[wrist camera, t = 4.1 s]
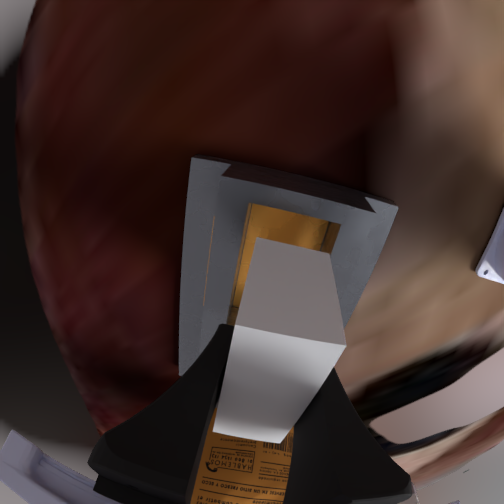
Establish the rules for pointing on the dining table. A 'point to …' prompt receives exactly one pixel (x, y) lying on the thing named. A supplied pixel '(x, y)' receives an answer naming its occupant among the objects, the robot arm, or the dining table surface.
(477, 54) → the dining table surface
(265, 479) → the coffee package
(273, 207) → the frame
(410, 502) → the gaming console
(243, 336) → the white rectangular block
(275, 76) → the dining table surface
